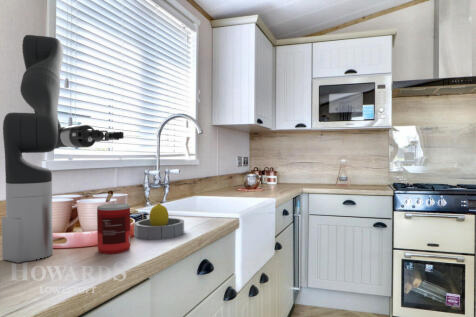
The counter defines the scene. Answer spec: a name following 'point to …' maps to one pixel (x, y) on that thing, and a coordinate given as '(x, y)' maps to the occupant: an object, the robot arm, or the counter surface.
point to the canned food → (113, 228)
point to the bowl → (159, 229)
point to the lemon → (158, 215)
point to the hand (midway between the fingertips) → (112, 134)
